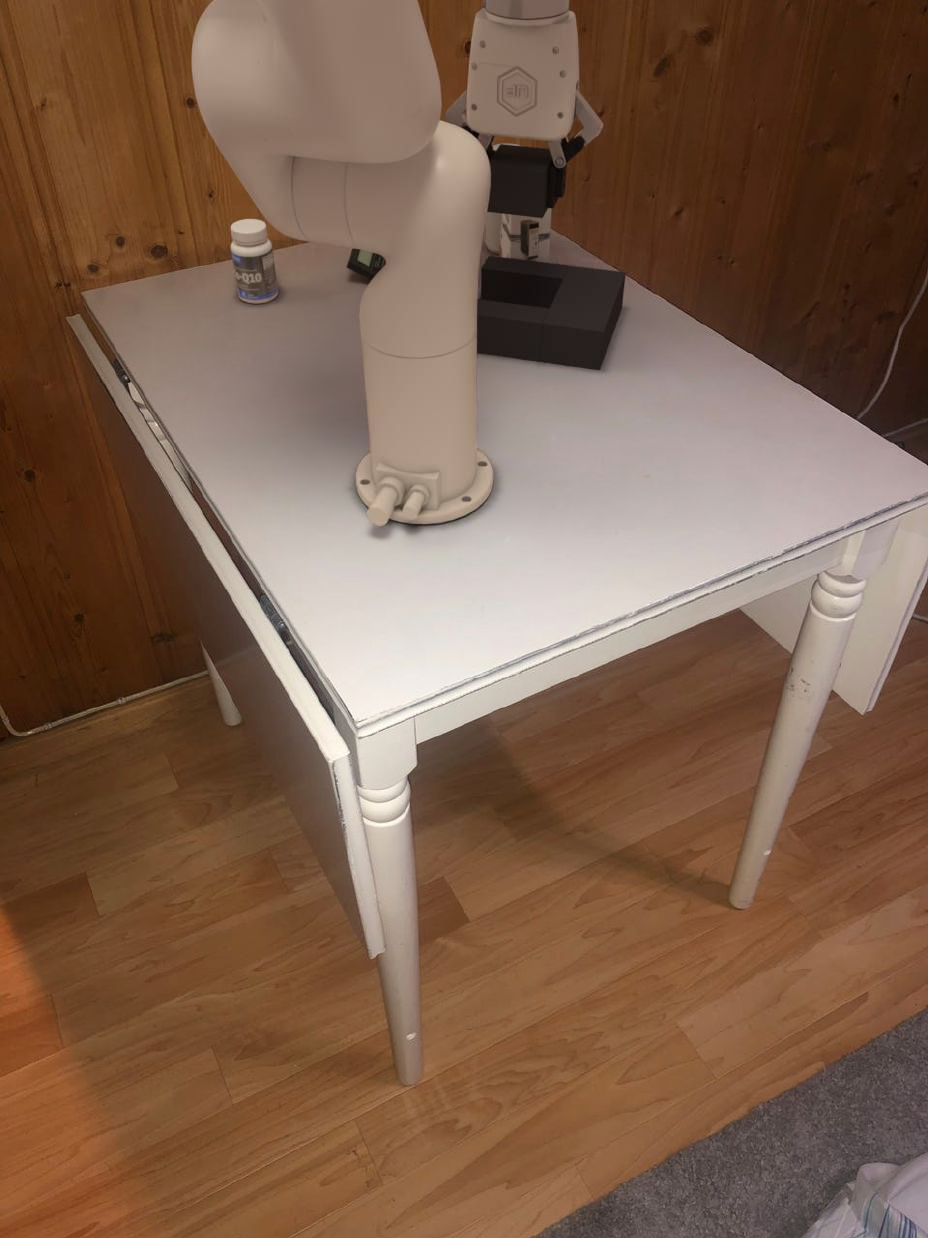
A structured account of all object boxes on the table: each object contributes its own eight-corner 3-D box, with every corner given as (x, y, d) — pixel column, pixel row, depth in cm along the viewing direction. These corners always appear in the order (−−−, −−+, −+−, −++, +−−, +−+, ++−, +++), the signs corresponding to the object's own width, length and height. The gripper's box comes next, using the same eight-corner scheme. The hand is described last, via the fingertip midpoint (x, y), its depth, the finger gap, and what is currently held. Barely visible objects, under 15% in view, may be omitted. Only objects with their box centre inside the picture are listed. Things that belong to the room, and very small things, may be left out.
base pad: (455, 349, 111) (454, 311, 108) (488, 291, 121) (488, 255, 117) (600, 370, 108) (603, 331, 105) (621, 308, 117) (626, 271, 114)
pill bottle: (231, 300, 119) (218, 230, 113) (250, 283, 122) (239, 214, 117) (267, 307, 118) (256, 236, 112) (285, 289, 121) (276, 219, 115)
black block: (542, 218, 100) (545, 171, 97) (484, 211, 102) (484, 165, 98) (555, 194, 105) (558, 149, 101) (499, 188, 106) (500, 143, 103)
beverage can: (524, 256, 127) (527, 157, 119) (485, 256, 127) (486, 157, 119) (523, 239, 131) (526, 142, 122) (485, 239, 131) (486, 142, 122)
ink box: (497, 261, 126) (499, 164, 118) (536, 259, 127) (541, 162, 118) (507, 293, 120) (510, 193, 112) (548, 291, 121) (553, 191, 112)
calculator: (444, 287, 121) (444, 263, 119) (347, 285, 122) (345, 261, 120) (449, 253, 128) (449, 229, 126) (358, 251, 129) (356, 227, 127)
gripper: (421, 0, 89) (428, 204, 102) (615, 14, 86) (597, 224, 98) (446, -21, 94) (449, 176, 107) (630, -9, 91) (611, 193, 104)
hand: (520, 197), depth 103 cm, fingers closed on black block, 6 cm apart
